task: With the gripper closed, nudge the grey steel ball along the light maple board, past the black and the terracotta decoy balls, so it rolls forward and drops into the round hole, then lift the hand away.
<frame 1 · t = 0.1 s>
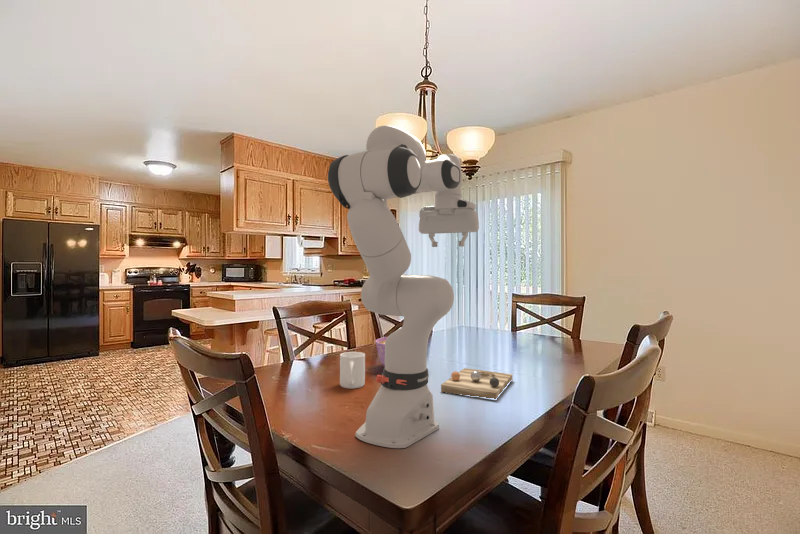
hand: (447, 246, 132), 48 cm above the table, tool pointing down, fingers open, 8 cm apart
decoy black: (494, 382, 128), point 4 cm above the table, touching board
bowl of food: (400, 369, 159), on the table
mug: (352, 387, 136), on the table
ball: (475, 376, 134), point 4 cm above the table, touching board
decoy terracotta: (455, 375, 135), point 4 cm above the table, touching board
board: (478, 386, 137), on the table
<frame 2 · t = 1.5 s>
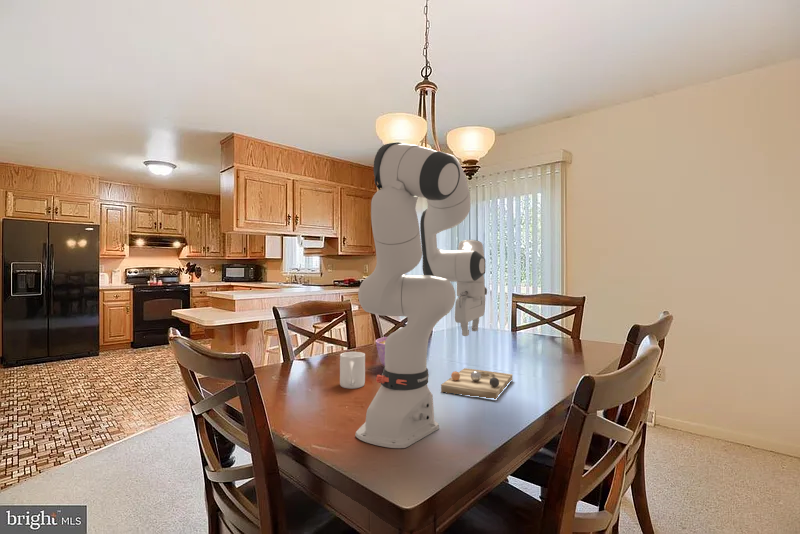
hand: (470, 333, 128), 20 cm above the table, tool pointing down, fingers open, 8 cm apart
nothing on the table moved.
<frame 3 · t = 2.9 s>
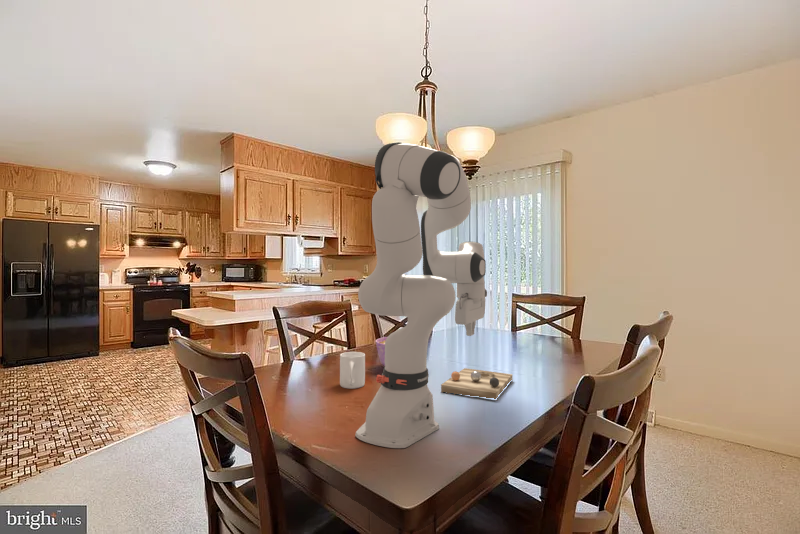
hand: (470, 335, 128), 19 cm above the table, tool pointing down, fingers closed
nothing on the table moved.
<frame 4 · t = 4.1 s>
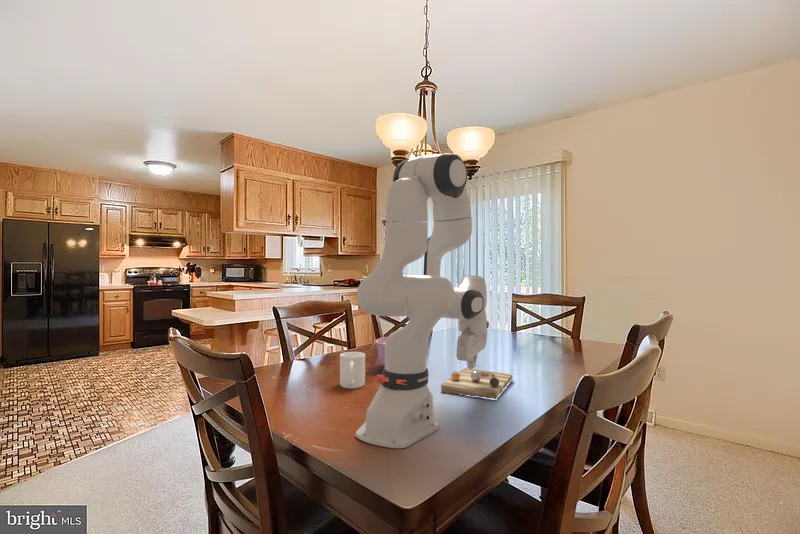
hand: (471, 367, 129), 8 cm above the table, tool pointing down, fingers closed
nothing on the table moved.
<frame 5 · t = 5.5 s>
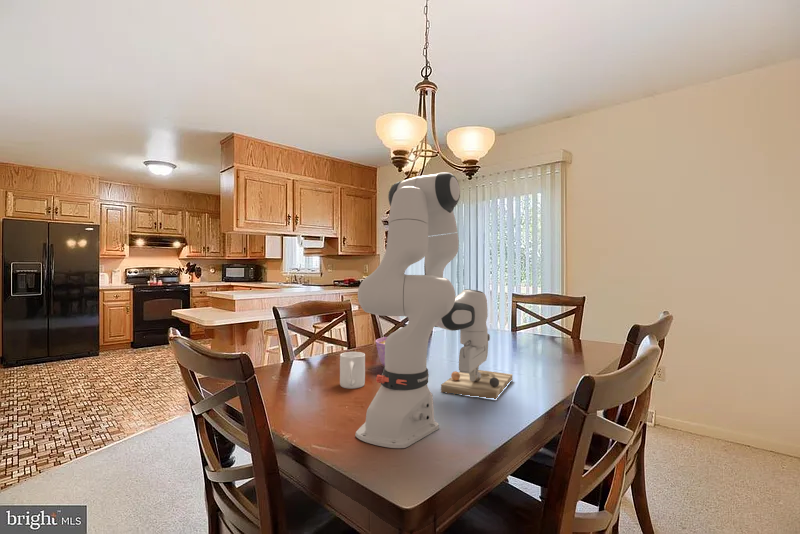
hand: (473, 380, 131), 4 cm above the table, tool pointing down, fingers closed
ball: (476, 376, 134), point 4 cm above the table, touching board, gripper
everything else where it was.
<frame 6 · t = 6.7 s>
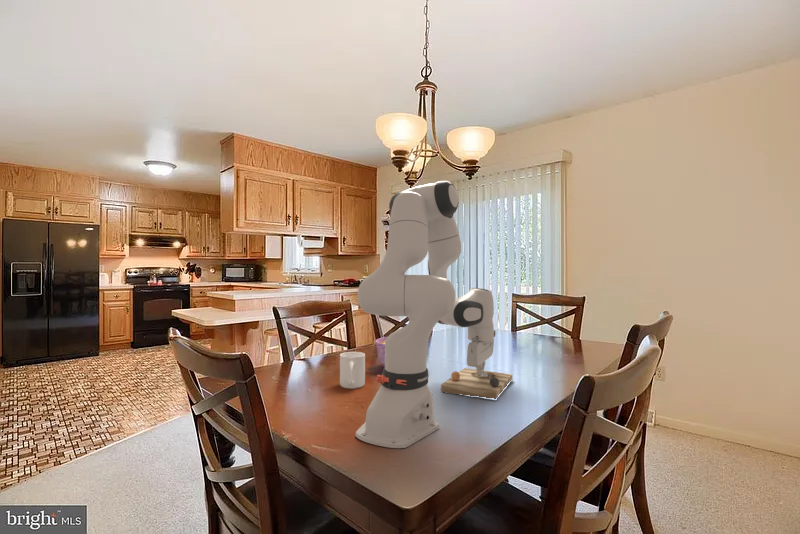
hand: (480, 373, 139), 4 cm above the table, tool pointing down, fingers closed
ball: (483, 376, 142), point 2 cm above the table
everything else where it was.
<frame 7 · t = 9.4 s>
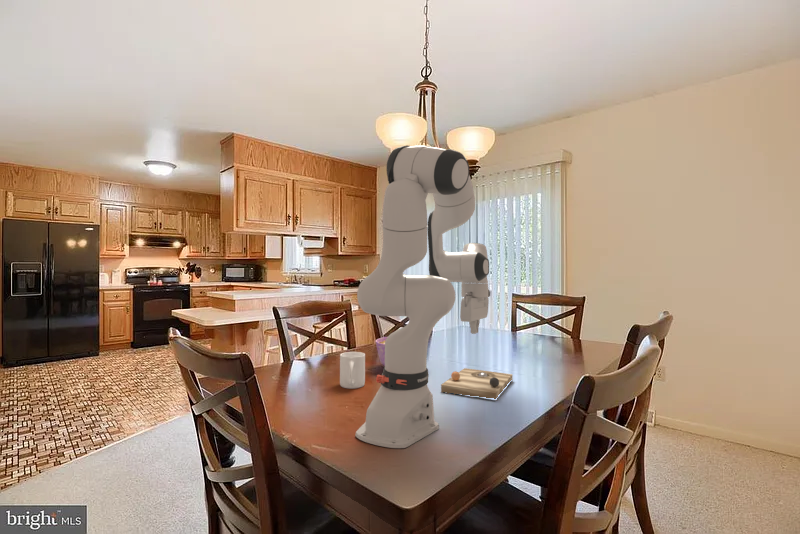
hand: (474, 333, 133), 19 cm above the table, tool pointing down, fingers closed
ball: (482, 377, 142), point 2 cm above the table, tilted 24°
everything else where it was.
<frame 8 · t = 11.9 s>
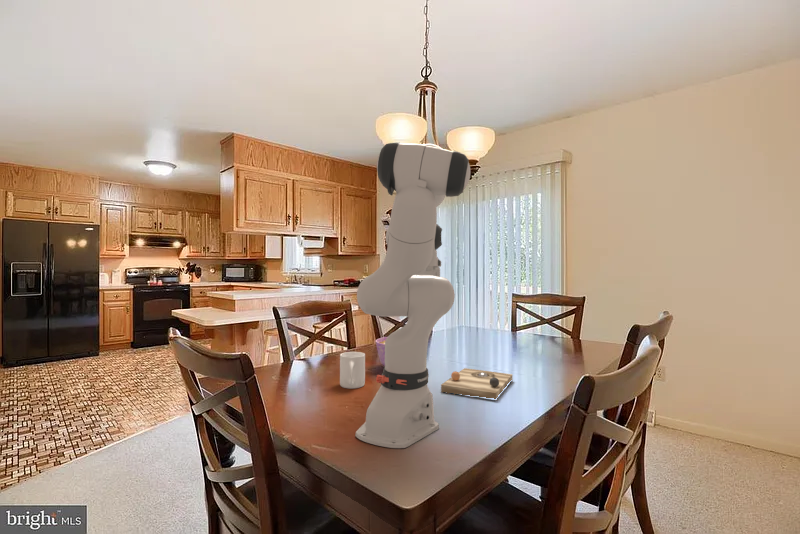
hand: (424, 300, 140), 29 cm above the table, tool pointing down, fingers closed
nothing on the table moved.
at the end: ball 0.4 cm from the target spot in the board, point 1.7 cm above the board's base; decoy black moved 0.0 cm from its start; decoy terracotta moved 0.0 cm from its start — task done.
